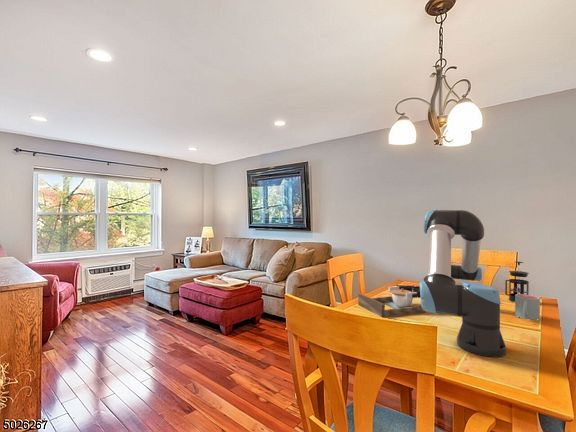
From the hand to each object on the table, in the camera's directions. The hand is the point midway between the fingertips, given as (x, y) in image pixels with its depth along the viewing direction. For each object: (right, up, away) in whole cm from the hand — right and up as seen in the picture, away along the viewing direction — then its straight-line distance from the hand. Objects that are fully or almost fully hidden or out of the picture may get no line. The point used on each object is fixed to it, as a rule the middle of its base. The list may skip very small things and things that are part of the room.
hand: (397, 292), depth 155 cm
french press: (+76, -9, +15) cm, 78 cm away
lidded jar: (+3, -8, +1) cm, 9 cm away
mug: (+57, -9, -15) cm, 59 cm away
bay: (-4, -8, -1) cm, 9 cm away
